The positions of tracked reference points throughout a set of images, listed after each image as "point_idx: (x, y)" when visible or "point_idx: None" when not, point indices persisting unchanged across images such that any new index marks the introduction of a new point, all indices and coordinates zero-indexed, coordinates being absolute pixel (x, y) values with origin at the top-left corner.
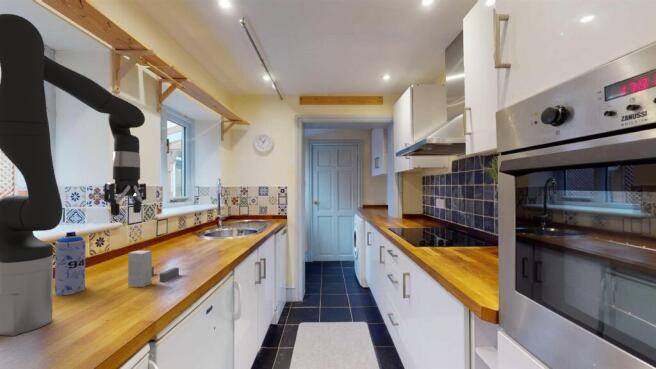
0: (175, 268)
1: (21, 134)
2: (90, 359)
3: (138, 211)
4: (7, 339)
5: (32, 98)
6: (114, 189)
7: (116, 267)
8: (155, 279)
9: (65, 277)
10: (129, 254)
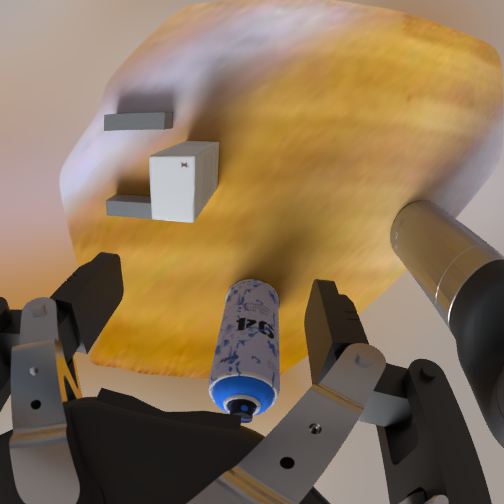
0: (112, 119)
1: None
2: (496, 60)
3: (114, 258)
4: None
5: None
6: (446, 486)
7: None
8: None
9: (276, 317)
10: (195, 215)
